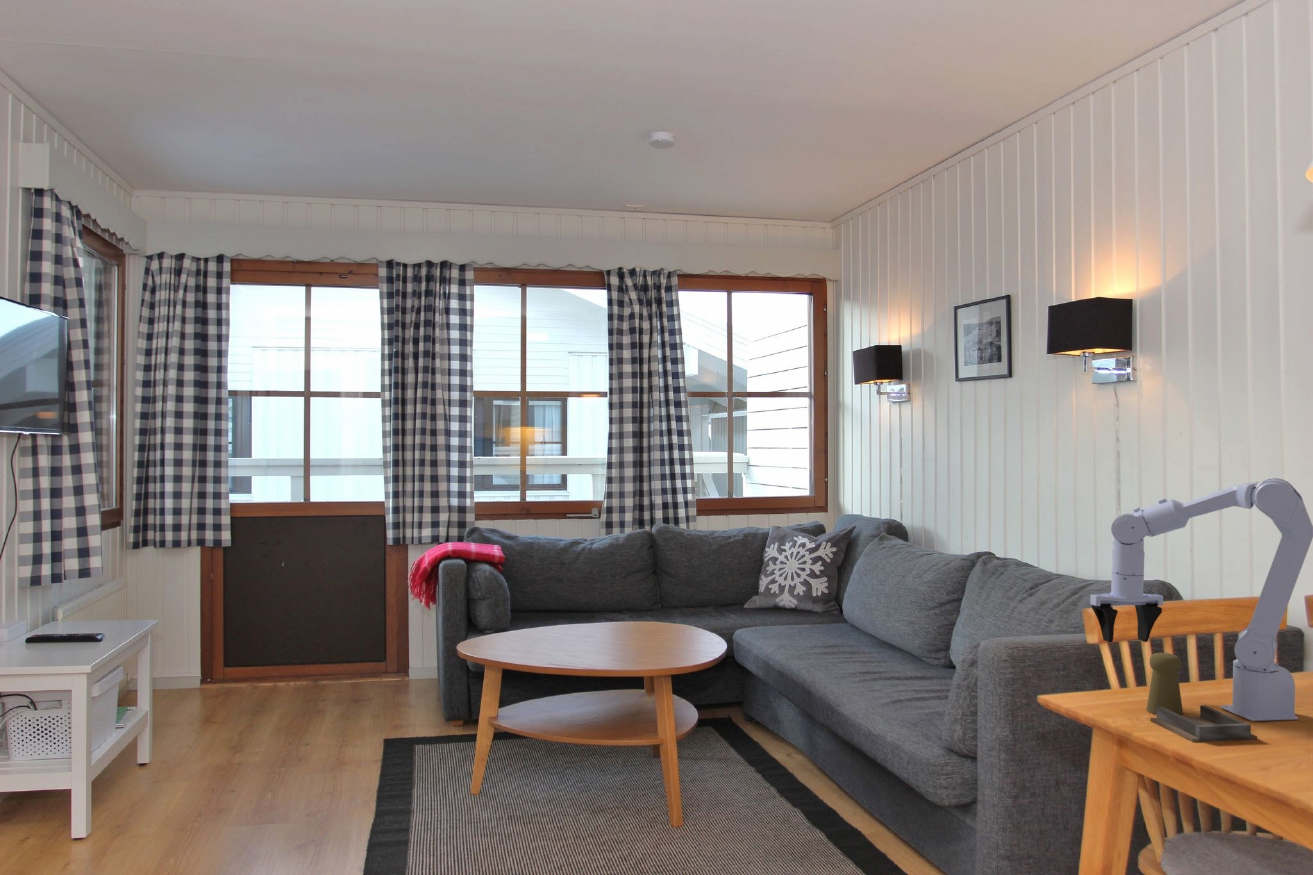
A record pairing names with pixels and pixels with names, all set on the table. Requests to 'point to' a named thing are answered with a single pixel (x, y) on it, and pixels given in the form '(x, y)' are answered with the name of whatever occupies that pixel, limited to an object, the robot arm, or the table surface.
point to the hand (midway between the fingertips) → (1125, 640)
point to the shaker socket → (1204, 725)
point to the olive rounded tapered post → (1165, 683)
